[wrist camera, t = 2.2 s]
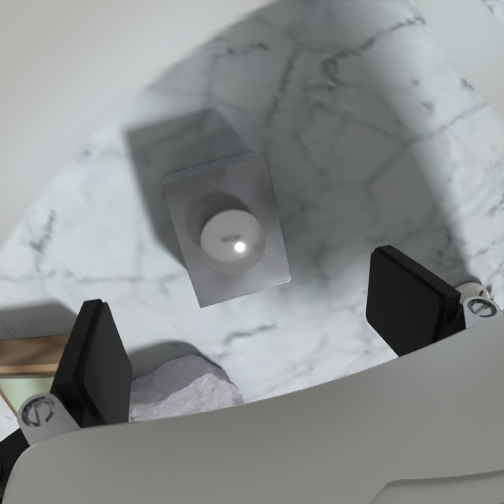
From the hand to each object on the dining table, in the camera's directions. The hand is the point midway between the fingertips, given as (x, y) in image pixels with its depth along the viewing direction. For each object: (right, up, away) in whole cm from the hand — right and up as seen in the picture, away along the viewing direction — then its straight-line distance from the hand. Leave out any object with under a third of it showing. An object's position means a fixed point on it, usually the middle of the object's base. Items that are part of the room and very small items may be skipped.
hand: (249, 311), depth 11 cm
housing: (-2, +4, +12) cm, 13 cm away
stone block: (-6, -12, +18) cm, 23 cm away
